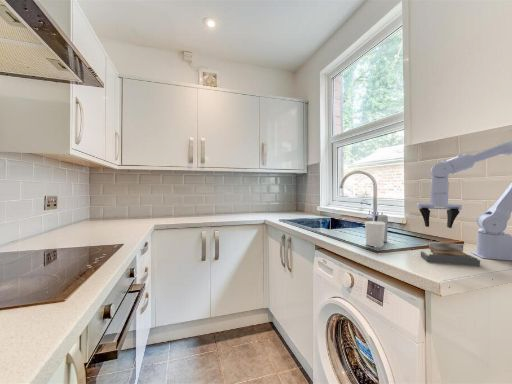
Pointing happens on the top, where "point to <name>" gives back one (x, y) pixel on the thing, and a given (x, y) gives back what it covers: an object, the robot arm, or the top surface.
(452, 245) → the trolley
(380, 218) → the energy drink
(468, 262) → the dock
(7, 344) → the top surface
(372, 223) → the white cup
